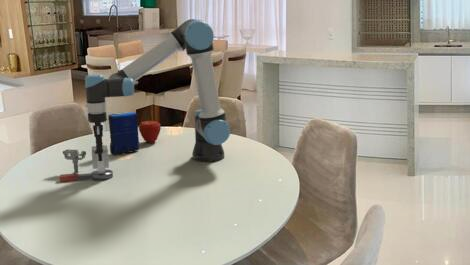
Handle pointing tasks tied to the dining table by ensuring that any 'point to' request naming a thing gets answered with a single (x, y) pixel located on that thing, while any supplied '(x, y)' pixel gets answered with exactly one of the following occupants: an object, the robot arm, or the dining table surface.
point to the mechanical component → (74, 157)
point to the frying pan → (88, 176)
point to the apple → (149, 130)
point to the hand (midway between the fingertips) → (100, 165)
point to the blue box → (123, 133)
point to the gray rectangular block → (105, 155)
